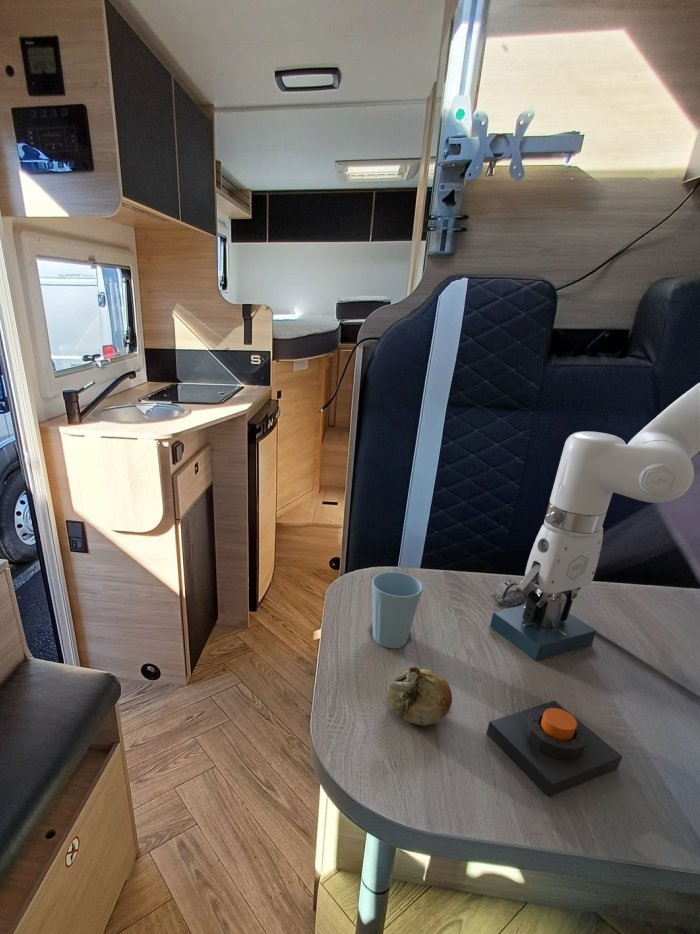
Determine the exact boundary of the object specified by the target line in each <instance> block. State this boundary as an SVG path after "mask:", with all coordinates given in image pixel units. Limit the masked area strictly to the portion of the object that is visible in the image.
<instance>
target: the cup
mask: <svg viewBox="0 0 700 934" xmlns="http://www.w3.org/2000/svg"><path fill="white" fill-rule="evenodd" d="M423 588H424V586H423V584H422V582H421V581H420V579H417V578H416V577H415V576H412V575H410V574H407V573H403V572H400V571H385V572H381V573H378V574H376V575H375V576H374V577H373V578H372V580H371V593H372V594H371V596H372V597H371V599H372V601H371V602H372V604H371V605H372V609H371V612H372V614H371V615H372V638H373V641H374V642H375V643H376V644H378V645H379V646H381V647H383V648H388V649H400V648H402V647H404V646H405V645H406V644H407V642H408V639H409V636H410V633H411V629H412V626H413V622H414V618H415V616H416V612H417V609H418V605H419V602H420V599H421V596H422V592H423Z"/></svg>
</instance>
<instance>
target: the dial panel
mask: <svg viewBox="0 0 700 934" xmlns="http://www.w3.org/2000/svg"><path fill="white" fill-rule="evenodd" d="M525 606H526V603H525V604H521V605H516V606H511V607H508V608H505V609H501V610H497V611H493V612H492V616H491V621H490V624H489V627H490V628H491V629H492V630H494V632H496V633H498V635H500V636H501V637H503V638H504V639H505V640H507V641H508V642H509V643H511V644H512V645H514V646H515V647H516V648H517V649H519V650H520V651H521V652H523V653H524V654H525V655H526V656H528V657H529V658H530V659H531V660H533V661H534V662H538V661H541V660H545V659H548V658H552V657H555V656H558V655H564V654H566V653H570V652H573V651H577V650H580V649H584V648H588V647H591V646H592V645H593V642H594V640H595V637H596V634H597V632H598V631H597V629H595V628H594V627H592V626H590V625H589V624H587V623H586V622H585V621H583V620H581V619H580V618H578V617H577V616H575V615H573V614H572V613H570V612H569V614H568V617H567V620H566V621H561V620H560V622H559V625H558V626H557V627H556V628H544V627H539V628H535V627H534V626H532V625H531V624H530V623H528V622H527V621H525V620H524V619H523V614H524V610H525Z"/></svg>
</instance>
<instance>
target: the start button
mask: <svg viewBox="0 0 700 934" xmlns="http://www.w3.org/2000/svg"><path fill="white" fill-rule="evenodd" d="M568 712H569V711H568ZM568 712H566V711H564V710H561V709H558V708H549V709H547V710H545V712H544V714H543V718H542V721H541V728H542V730H543V731H544V732H545V733H546V734H547V735H549V736H551V737H553V738H555V739H557V740H563V741H567V740H570V739H572V737H573V735H574V733H575V730H576V727H577V721H576V719H577V718H576V717H575V716H574V715H573V714H572V715H573V716H574V717H575V718H576V719H575V718H574V717H573V716H572V715H571V713H570V712H569V713H570V714H569V713H568Z"/></svg>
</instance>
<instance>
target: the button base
mask: <svg viewBox="0 0 700 934" xmlns="http://www.w3.org/2000/svg"><path fill="white" fill-rule="evenodd" d="M549 708H558V709H561V710H564V711H566V712H568V713H569V714H571V712H569V711H568V710H567V709H566V708H564V707H563V705H561V704H560V703H558V702H557V701H556V700H551V701H548V702H545V703H542V704H539V705H536V706H533V707H529V708H527V709H524V710H521V711H517V712H515V713H512V714H509V715H506V716H502V717H500V718H497V719H493V720H490V721H489V722H488V726H487V729H486V735H487V736H488V738H490V739H491V741H493V743H494V744H496V746H498V748H500V750H502V752H503V753H504V754H506V756H507V757H508V758H509V759H510V760H511V761H512V762H513V763H514V764H515V765H516V766H517V767H518V768H519V770H521V771H522V772H523V773H524V774H525V775H526V776H527V777H528V778H529V779H530V781H532V782H533V784H534V785H535V786H536V787H538V788H539V790H541V792H543V794H544V795H545V796H546V797H548V798H550V797H552V796H555V795H557V794H560V793H562V792H564V791H567V790H569V789H572V788H574V787H577V786H579V785H582V784H584V783H587V782H588V781H589V782H590V781H591V780H594V779H596V778H599V777H601V776H603V775H606V774H609V773H611V772H614V771H616V770H618V768H619V765H620V763H621V761H622V759H623V755H622V754H621V753H619V752H618V751H617V750H615V748H613V747H612V746H611V745H610V744H608V743H607V742H606V741H605V740H603V739H602V738H601V737H600V736H599V735H597V734H596V733H595V732H594V731H592V730H591V729H590V728H589V727H587V726H586V725H585V724H584V723H582V721H580V720H579V719H578V718H577V717H576V716H574V715H573V714H571V715H572V716H573V717H574V718H575V719H576V721H577V727H576V730H575V733H574V735H573V737H572V739H570V740H567V741H563V740H557V739H555V738H553V737H551V736H549V735H547V734H546V733H545V732H544V731H543V730H542V728H541V721H542V718H543V714H544V712H545V710H547V709H549Z"/></svg>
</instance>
